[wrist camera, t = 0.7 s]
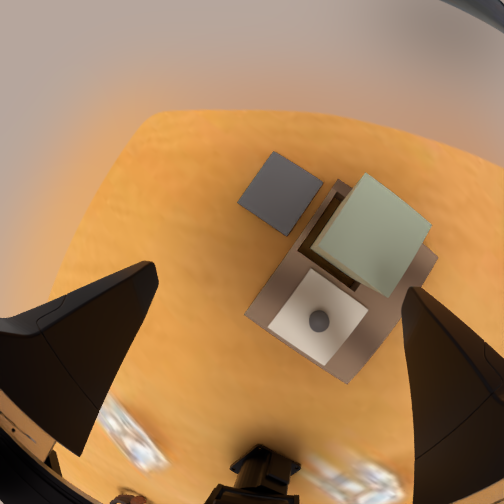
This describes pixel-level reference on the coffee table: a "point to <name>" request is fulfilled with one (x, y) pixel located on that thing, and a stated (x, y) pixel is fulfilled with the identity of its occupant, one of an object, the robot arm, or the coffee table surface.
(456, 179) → the coffee table surface
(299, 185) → the charcoal mat
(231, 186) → the coffee table surface
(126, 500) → the dark brown lobed piece
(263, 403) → the coffee table surface
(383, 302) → the brown sliding lid box
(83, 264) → the coffee table surface
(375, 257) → the sage block
